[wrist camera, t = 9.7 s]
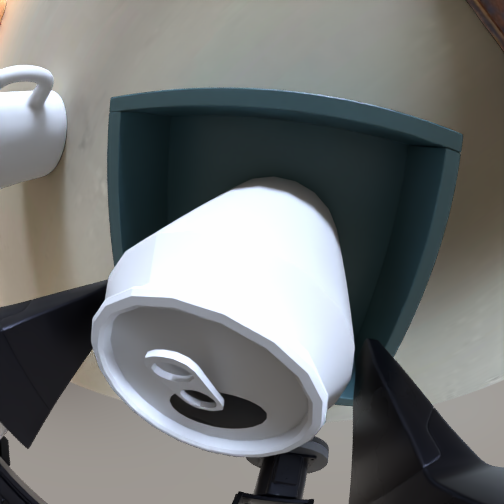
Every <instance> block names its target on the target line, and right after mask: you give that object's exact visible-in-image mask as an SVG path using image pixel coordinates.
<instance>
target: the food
mask: <svg viewBox="0 0 504 504" xmlns="http://www.w3.org/2000/svg"><path fill="white" fill-rule="evenodd" d="M5 7H6V0H0V24H1V20H2V17H3V14H4V10H5Z"/></svg>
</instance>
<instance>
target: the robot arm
mask: <svg viewBox="0 0 504 504" xmlns="http://www.w3.org/2000/svg"><path fill="white" fill-rule="evenodd" d="M107 283H108V280H104V281H100V282H96V283H93V284H89V285H85V286H81V287H78V288H74V289H70V290H66V291H63V292H59V293H55V294H51V295H48V296H44V297H40V298H36V299H33V300H29V301H25V302H21V303H18V304H14V305H9V306H4V307H0V504H47V503H46V502H45V501H44V500H43V499H42V498H40V497H39V496H38V495H37V494H36V493H35V492H34V491H33V490H31V489H30V488H29V487H28V486H27V485H26V484H25V483H24V482H23V481H22V480H21V479H20V478H19V477H18V476H17V475H16V474H15V473H14V471H12V469H11V468H10V467H9V466H10V458H9V445H8V440H7V439H6V437H5V436H4V435H5V434H6V432H7V431H8V430H9V431H10V432H11V433H12V434H13V435H14V436H15V437H16V438H17V439H18V440H19V441H20V442H21V443H22V444H23V445H24V446H25V447H26V448H27V449H29V447H30V446H31V444H32V442H33V441H34V439H35V437H36V435H37V434H38V432H39V430H40V428H41V427H42V425H43V423H44V422H45V420H46V418H47V417H48V415H49V414H50V411H51V410H52V408H53V407H54V405H55V403H56V402H57V400H58V399H59V397H60V395H61V394H62V393H63V391H64V390H65V388H66V387H67V385H68V384H69V382H70V381H71V379H72V378H73V376H74V375H75V373H76V372H77V370H78V369H79V367H80V366H81V364H82V363H83V362H84V360H85V359H86V357H87V356H88V354H89V353H90V352H91V350H92V349H93V347H92V343H91V333H92V319H93V317H94V315H95V314H96V312H97V311H98V310H99V308H100V307H101V305H102V304H103V302H104V301H105V295H106V289H107ZM316 460H317V456H315V455H307V454H299V453H292V452H286V453H281V454H277V455H271V456H266V457H260V460H259V462H258V467H259V468H261V469H260V473H259V476H258V480H257V483H256V487H255V490H254V493H253V494H248V493H244V492H238V494H236V495H235V498H234V500H233V503H232V504H313V503H314V499H309V500H303V499H302V497H303V492H304V487H305V481H306V475H307V471H308V470H309V468H310V467H311V466H312V465H313V464H314V462H315V461H316ZM349 504H504V468H502V467H495V466H492V465H489V464H486V463H485V462H484V461H482V460H481V459H480V458H479V457H478V456H477V455H476V454H475V453H474V452H473V451H472V450H471V449H470V448H469V447H468V446H467V444H466V443H465V442H463V440H462V439H461V438H460V437H459V436H458V435H457V434H456V433H455V432H454V430H453V429H452V428H451V427H450V426H449V425H448V424H447V422H446V421H445V420H444V419H443V417H442V416H441V415H440V414H439V413H438V411H437V410H436V409H435V408H433V405H432V404H431V403H430V401H429V400H428V399H427V398H426V396H425V395H424V394H423V393H422V391H421V390H420V389H419V388H418V387H417V385H416V384H415V383H414V382H413V380H412V379H411V378H410V377H409V376H408V374H407V373H406V372H405V371H404V370H403V368H402V367H401V366H400V365H399V364H398V363H397V361H396V360H395V359H394V358H393V357H392V355H391V354H390V353H389V352H388V351H387V350H386V348H385V347H384V346H383V345H382V344H381V343H380V341H379V340H377V339H369V338H367V339H366V340H365V341H364V343H363V346H362V348H361V350H360V352H359V354H358V357H357V361H356V372H355V384H354V395H353V451H352V471H351V485H350V497H349Z"/></svg>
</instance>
